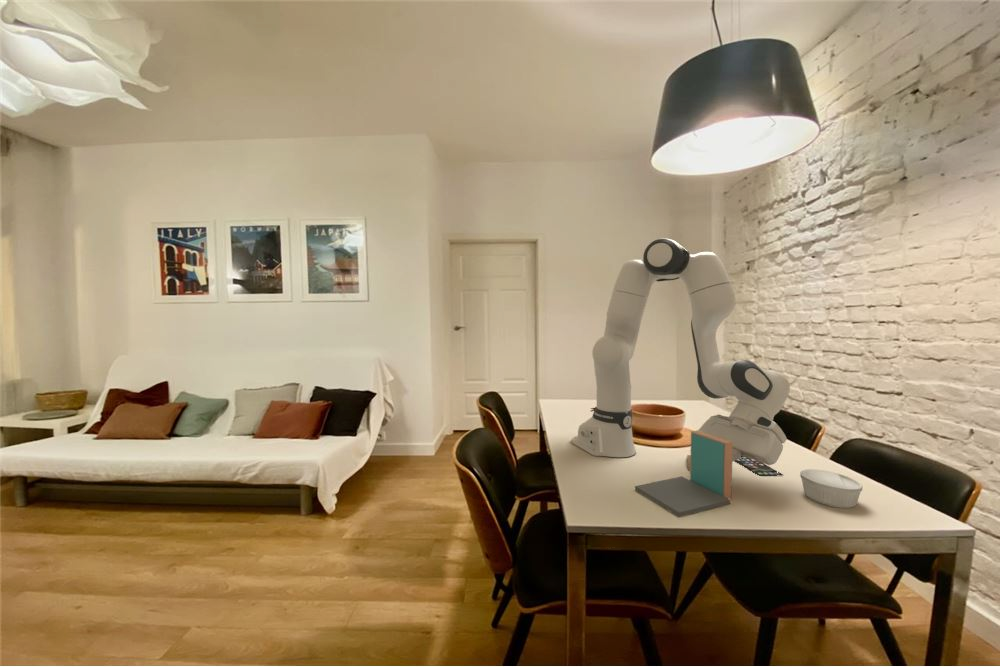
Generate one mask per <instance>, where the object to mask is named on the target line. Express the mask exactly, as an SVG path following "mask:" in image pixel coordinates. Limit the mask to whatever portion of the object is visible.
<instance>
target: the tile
mask: <svg viewBox="0 0 1000 667" xmlns="http://www.w3.org/2000/svg"><path fill="white" fill-rule="evenodd" d="M698 430H699V429H698ZM698 430H692V431H690V455H691V463H690V471H689V480H690V481H692V482H695V483H697V484H699V485H701V486H703V487H705V488H707V489H709V490H711V491H713V492H715V493H717V494H719V495H721V496H724V497H726V498H728V499H731V498H732V490H733V489H732V487H733V486H732V484H733V462H732V451H733V442H732V441H729V440H726V439H723V438H720V437H717V436H714V435H711V434H707V433H704V432H701V431H698Z"/></svg>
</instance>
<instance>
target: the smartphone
mask: <svg viewBox="0 0 1000 667" xmlns="http://www.w3.org/2000/svg"><path fill="white" fill-rule="evenodd" d="M736 462H737V464H738V463H739V464H738V465H739V466H741V465H742V467H743V466H744V467H743V468H745V469H746V468H747V470H748V471H750V472H751V471H752V472H751V473H753V474H754V473H755V474H754V475H756V474H757V475H756V476H758V475H759V476H760V477H778V476H777V475H783V476H784V474H783V473H781V472H780V471H778V470H776V469H774V468H773V467H771V466H770V465H767V464H764V463H761V462H759V461H756V460H753V459H750V458H747V457H745V456H742V455H741V457H740V458H739V459H737V460H735V461H734V463H736ZM777 471H778V473H777ZM759 476H758V477H759Z"/></svg>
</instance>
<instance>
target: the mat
mask: <svg viewBox="0 0 1000 667" xmlns="http://www.w3.org/2000/svg"><path fill="white" fill-rule="evenodd" d="M634 490H635V491H637V492H638V493H639V492H640V493H639V494H641V493H642V494H641V495H643V496H644V495H645V496H644V497H646V498H647V499H649V498H650V500H651V501H652V500H653V501H652V502H654V503H656V504H657V503H658V504H657V505H658V506H661V507H662V506H663V507H662V508H664V509H666V510H668V511H669V512H670V511H671V512H670V513H672V514H674V515H675V516H677V517H679V518H680V517H684V516H688V515H692V514H696V513H699V512H704V511H707V510H712V509H715V508H719V507H724V506H726V505H730V504H731V498H726V497H724V496H721V495H719V494H717V493H715V492H713V491H711V490H709V489H707V488H705V487H703V486H701V485H699V484H697V483H695V482H692V481H690V479H689V478H686V477H684V476H677V477H671V478H669V479H663V480H658V481H654V482H653V481H652V482H649V483H644V484H638V485H635V486H634Z"/></svg>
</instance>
